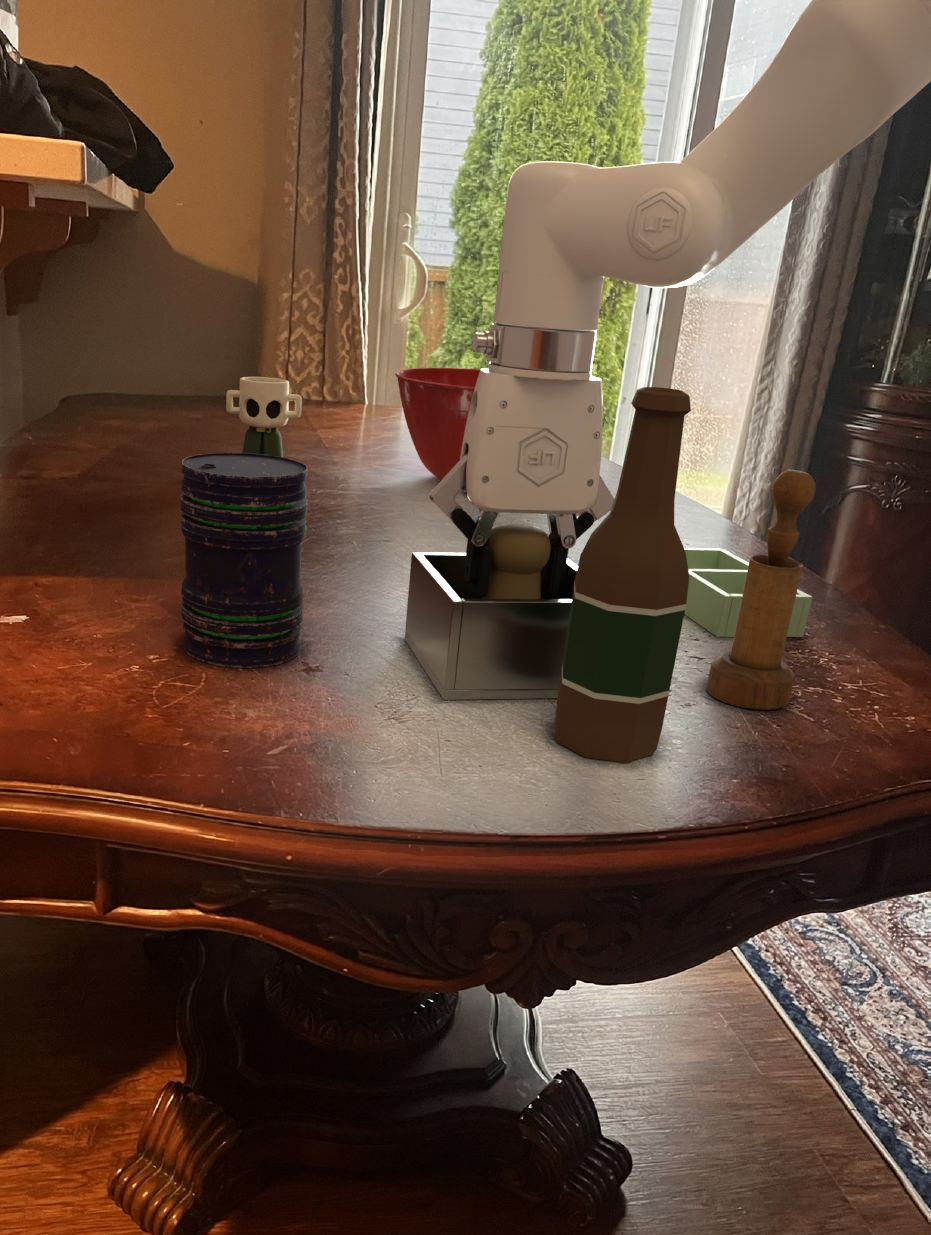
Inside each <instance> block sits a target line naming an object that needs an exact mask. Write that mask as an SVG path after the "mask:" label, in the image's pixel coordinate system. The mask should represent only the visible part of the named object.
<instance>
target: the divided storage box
mask: <svg viewBox="0 0 931 1235" xmlns="http://www.w3.org/2000/svg"><path fill="white" fill-rule="evenodd" d="M684 549H685V552H686V558H687V565H688V571H689V585H688V593H687V602H686V608H685V613H684V616H686V617H688V618H689V619H690V620H692V621H693V622H695V623H696V624H698V625H699V626H700V627H702V628H703V629H705V630H706V631H708V632H709V633H710V634H712V635H714V636H715V637H716V638H734V634H735V630H736V625H737V620H738V615H739V610H740V605H741V600H742V595H743V590H744V585H745V580H746V575H747V570H748V565H749V561H746V560H745V559H743V558H741V557H740V556H737V555H735V554H733V553H732V552H730V551H728V550H726V549H724V548H709V547H708V548H707V547H705V548H704V547H702V548H701V547H684ZM812 601H813V596H812V595H810V594H808V593H806V592H804V591H802V590H801V589H799V588H798V590H797V594H796V598H795V602H794V607H793V611H792V616H791V620H790V624H789V629H788V633H787V638H803V637H804V634H805V630H806V626H807V622H808V618H809V614H810V610H811V606H812V603H813V602H812Z"/></svg>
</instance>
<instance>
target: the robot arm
mask: <svg viewBox="0 0 931 1235" xmlns="http://www.w3.org/2000/svg"><path fill="white" fill-rule="evenodd" d="M930 82H931V0H811V1H810V2H809V4H808V5H807V6H806V7H805V9H804V10H803V12H802V13H801V14H800V15H799V17H798V18H797V20H796V21H795V22H794V24H793V25H792V27H791V29H790V30H789V32H788V34H787V35H786V37H785V39H784V41H783V42H782V44H781V46H780V48H779V49H778V51H777V53H776V55H775V56H774V58H773V59H772V60H771V62H770V64H769V65H768V66H767V68H766V69H765V71H764V72H763V74H762V75H761V76H760V77H759V79H758V80H757V81H756V82H755V84H753V86H752V88H751V89H750V90H749V91H748V92H747V94H745V96H744V97H743V98H742V99H741V100H740V101H739V102H738V103H737V105H736V106H735V107H734V108H733V109H732V110H731V111H730V112H729V114H727V115H726V116H725V117H724V119H723V120H722V121H721V122H720V123H719V124H718V125H717V126H716V127H715V128H713V129H712V131H710V132H709V134H708V135H706V137H704V139H702V140H701V141H700V142H699V143H698V144H697V145H696V146H695V147H694V148H693V149H692V150H691V151H690V152H689V153H687V154H686V155H685V157H683V159H681V160H680V161H679V162H677V161H658V162H648V163H647V162H646V163H640V164H632V165H631V164H630V165H622V166H621V165H620V166H607V167H605V166H604V167H600V166H596V165H593V164H587V163H581V162H569V161H549V160H548V161H547V160H546V161H532V162H527V163H525V164H521V165H520V166H519V167H517V168H516V169H515V170H514V171H513V173H512V174H511V176H510V179H509V181H508V184H507V191H506V197H505V207H504V216H503V226H502V236H501V246H500V255H499V264H498V273H497V274H498V275H497V286H496V296H495V304H494V314H493V323H490V324H489V326H490V327H489V329H488V331H484V332H482V333H481V332H475V333H474V334H473V337H472V342H471V347H472V348H471V349H472V352H473V353H480V354H482V355H483V356H485V357H486V361H487V362H489V363H488V368H487V367H486V368H485V367H484V368H480V369H481V370H480V373H479V376H478V379H477V382H476V386H475V389H474V393H473V397H472V400H471V405H470V409H469V413H468V417H467V422H466V427H465V432H464V438H463V444H462V450H461V456H460V461H459V462H458V463H457V464H456V465H455V466H454V467H453V468H452V469H451V470H450V472H449V473H448V474H447V475H446V476H445V477H444V478H443V479H442V480H441V481H440V480H439V482H438V483H437V484H436V486H434V488H433V489H432V490H431V491H430V493H429V495H428V496H429V500H430V501H431V502H432V503H433V504H434V505H435V506H436V507H437V508H438V509H439V510H440V511H441V512H442V513H444V514H445V516H446V517H448V518H449V520H450V521H451V522H452V523H453V524H454V526H456V528H457V529H458V530H459V531H460V533H462V535H463V536H464V537H465V538H466V540H467V542H466V550H465V553H466V559H465V569H464V579H465V582H466V583H469V588H470V589H471V590H472V591H473V592H474V593H475V594H476V595H477V596H478V597H485V595H487V594H488V586H489V577H490V569H491V560H492V548H491V547H490V546H488V540H489V538H488V537H489V535H490V532H491V530H492V528H494V524H495V522H496V520H497V517H498V516H499V513H505V514H537V515H539V514H541V515H543V514H546V518H547V519H546V520H547V524H548V525H547V526H548V531H549V534H548V537H549V539H550V546H551V550H550V557H549V559H548V562H547V564H546V565H545V566H544V567H543V568H542V570H541V571H540V589H541V590H542V591H543V592H544V593H545V594H546V595H548V596H549V597H557V596H558V590H559V584H563V582H564V578H565V571H566V564H567V558H569V550H570V549H572V548H573V547H575V545H576V543H577V540H578V539H580V537H582V535H584V534H585V533H586V532H587V531H588V530H589V529H590V528H592V526H593V525H594V523H595V522H596V521H599V520H600V519H601V518H603V517H604V516H606V515H607V514H608V513H610V511H611V508H612V505H613V502H614V499H615V497H614V496H613V494H612V493H611V491H610V490H609V488H608V486H607V485H606V483H605V481H604V479H603V478H602V476H601V464H602V463H601V462H602V450H603V449H602V448H603V430H604V429H603V422H604V420H603V419H604V418H603V416H604V407H603V406H604V405H603V404H604V401H603V384H602V382H603V381H602V378H600V377H596V376H594V375H592V371H593V370H592V369H593V361H594V356H595V355H594V354H595V348H596V341H597V334H598V333H597V331H598V325H599V317H600V312H601V311H600V310H601V303H602V297H603V290H604V282H605V278H609V279H613V280H618V281H623V282H625V283H626V282H627V283H631V284H634V285H638V286H643V287H648V288H655V289H666V288H667V289H669V288H680V287H683V286H688V285H691V284H693V283H696V282H697V281H699V280H702V279H703V278H704V277H706V276H707V275H709V274H710V273H711V272H712V271H713V270H715V269H716V268H717V267H718V266H719V265H720V264H722V263H723V262H724V261H725V260H726V259H728V257H730V256H731V255H732V254H733V253H734V252H735V251H737V250H738V249H739V248H740V247H741V246H742V245H743V244H744V243H745V242H747V241H748V240H749V239H750V238H751V237H752V236H753V235H755V234H756V233H757V232H758V231H759V230H760V229H762V228H763V227H764V226H765V225H766V224H767V223H768V222H769V221H770V220H772V219H773V218H774V217H775V216H776V215H777V214H778V213H779V212H781V211H782V210H783V209H784V208H785V207H786V206H787V205H789V204H790V203H791V202H792V201H793V200H794V199H795V198H796V197H797V196H799V195H800V194H801V193H802V192H803V191H804V190H805V189H806V188H807V187H809V185H811V184H812V183H813V182H814V181H815V180H816V179H817V178H819V176H821V175H822V174H823V173H824V172H826V171H827V170H828V169H829V168H830V167H831V166H833V165H834V164H835V163H836V162H837V161H838V160H840V159H841V158H842V157H844V156H845V155H846V154H847V153H849V152H850V151H852V150H853V149H854V148H855V147H857V146H858V145H860V144H861V143H863V142H864V141H865V140H867V139H868V138H869V137H870V136H872V135H873V134H874V133H875V132H876V131H877V130H878V129H879V128H880V127H882V126H883V125H884V123H886V122H887V121H888V120H889V119H890V118H891V117H893V115H894V114H895V113H897V112H898V111H899V110H900V109H901V108H902V107H904V106H905V105H906V104H907V103H908V102H909V101H910V100H911V99H913V98H914V97H915V96H916V95H917V94H918V93H919V92H921V90H923V88H925V87H927V85H928V84H930ZM458 493H459V494H460V495H461V496H463V497H464V498H466V499H468V500H469V501H470V502H471V504H472V506H471V508H470V511H469V513H468V512H467V511H466V510H465V509H464V508H463V507H462V506H461V505H460V504H459V503H457V501H456V495H457V494H458Z"/></svg>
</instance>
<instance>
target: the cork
mask: <svg viewBox="0 0 931 1235" xmlns="http://www.w3.org/2000/svg"><path fill="white" fill-rule="evenodd" d="M548 536H549V534H548V533H547V532H546V531H544V530H543V529H542V528H540V527H537V526H533V525H530V524H524V523H515V522H514V523H502V524H498V525H496V526H493V527H492V530H491V532H490V535H489V537H488V538H489V540H488V546H490V547H491V548H492V560H491V569H490V577H489V586H488V594H487V595H485V597H482V599H540V571H541V570H542V568H543V567H544V566H545V565H546V564H547V562H548V559H549V557H550V550H551V546H550V539H549V537H548Z"/></svg>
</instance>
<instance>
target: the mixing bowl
mask: <svg viewBox="0 0 931 1235" xmlns="http://www.w3.org/2000/svg"><path fill="white" fill-rule="evenodd" d="M481 369H482V368H463V367H462V368H461V367H413V368H405V369H400V370H396V371H395V373H394V375H395V377H396V378H397V383H398V384H397V385H398V390H399V397H400V402H401V406H402V412H403V416H404V419H405V423H406V427H407V429H408V432H409V436H410V438H411V441H412V444H413V446H414V448H415V451H416V453H417V455H418V458H419V460H420V462H421V464H422V465H424V467H425V468H426V469H427V471H428V472H429V473H430V474H432V475H433V476H434V477H436V478H437V480H438V481H439V482H440V481H441V480H442V479H443V478H444V477H445V476H446V475H447V474H448V473H449V472H450V470H451V469H452V468H453V467H454V466H455V465H456V464H457V463H458V462H459V461H460V456H461V450H462V444H463V438H464V432H465V427H466V422H467V417H468V413H469V409H470V405H471V400H472V397H473V393H474V389H475V386H476V382H477V379H478V376H479V373H480V370H481Z"/></svg>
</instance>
